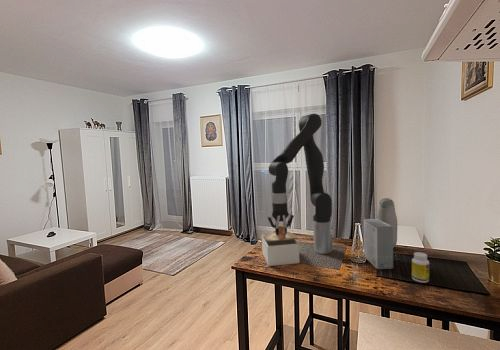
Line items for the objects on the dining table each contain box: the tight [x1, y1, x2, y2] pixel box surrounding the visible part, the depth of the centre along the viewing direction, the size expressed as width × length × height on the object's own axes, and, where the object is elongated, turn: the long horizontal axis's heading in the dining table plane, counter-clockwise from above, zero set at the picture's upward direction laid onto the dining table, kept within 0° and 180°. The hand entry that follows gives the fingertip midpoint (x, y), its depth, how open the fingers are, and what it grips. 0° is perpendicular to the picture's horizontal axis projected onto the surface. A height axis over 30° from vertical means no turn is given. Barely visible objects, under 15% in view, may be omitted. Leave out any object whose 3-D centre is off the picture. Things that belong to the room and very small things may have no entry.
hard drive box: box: [363, 218, 394, 270], centre depth 127 cm, size 16×8×20 cm, turn 179°
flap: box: [261, 224, 299, 242], centre depth 139 cm, size 16×18×6 cm
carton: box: [261, 235, 300, 267], centre depth 139 cm, size 16×18×10 cm
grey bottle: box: [376, 197, 398, 249], centre depth 143 cm, size 10×10×28 cm
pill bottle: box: [411, 251, 430, 284], centre depth 109 cm, size 6×6×11 cm
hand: (281, 234), depth 133 cm, fingers closed on flap, 3 cm apart
